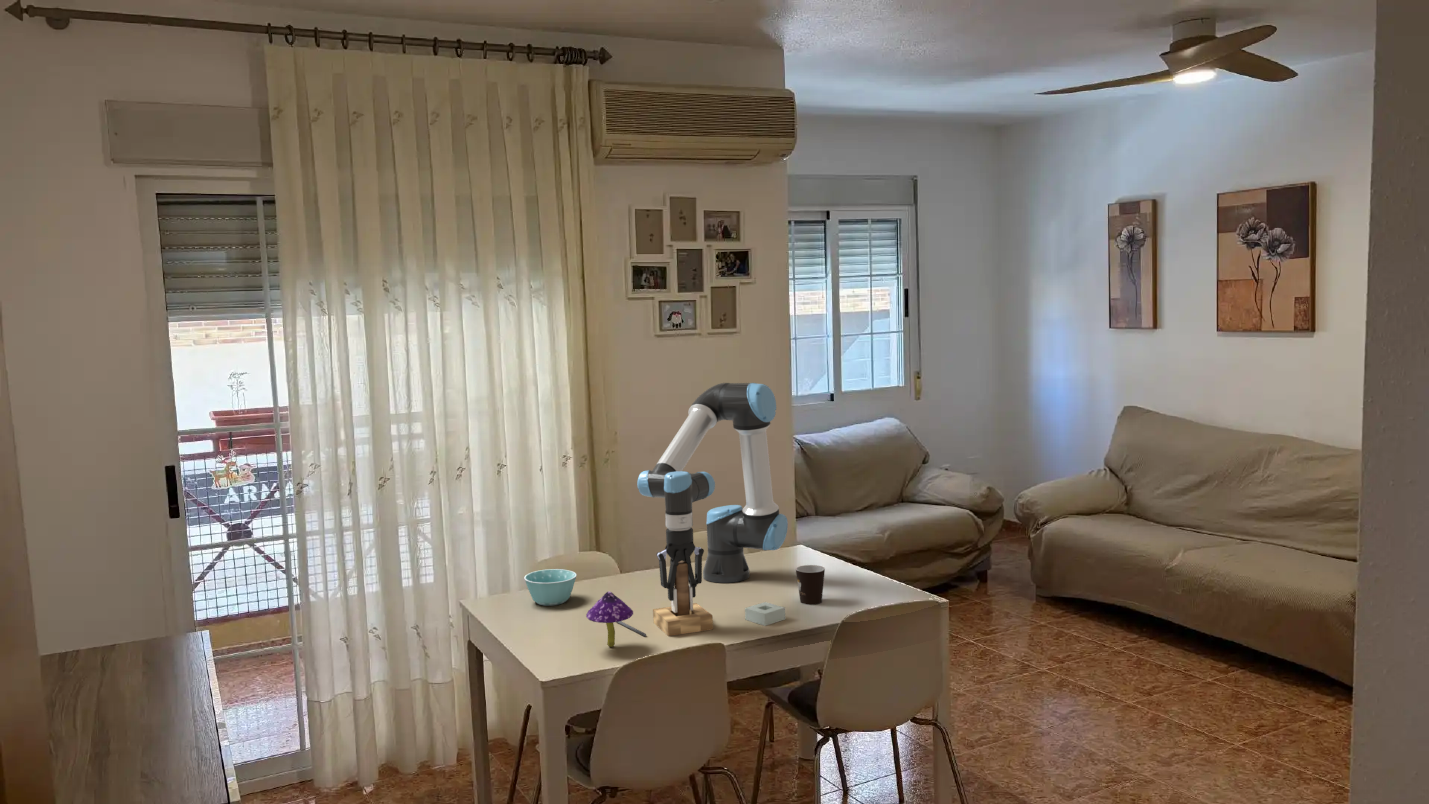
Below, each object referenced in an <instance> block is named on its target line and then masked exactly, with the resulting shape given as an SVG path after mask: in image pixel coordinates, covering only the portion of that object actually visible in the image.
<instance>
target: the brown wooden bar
mask: <svg viewBox="0 0 1429 804" xmlns="http://www.w3.org/2000/svg"><path fill="white" fill-rule="evenodd" d="M689 585H690V584H689V579H688V564H687V563H685V562H684V561H680V562H678V566H677V571H676V577H675V584H674V588H675V589H677V613H675V616H682V615H689V614H690V607H689Z"/></svg>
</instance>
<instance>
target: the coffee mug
mask: <svg viewBox="0 0 1429 804" xmlns="http://www.w3.org/2000/svg"><path fill="white" fill-rule="evenodd" d="M825 570H826V568H825V567H824V566H823V565H822V566H821V565H817V564H805V565H798V566H796V567H795V574H796V581H797V588H798V594H799V602H800V603H801V604H802V605H811V606H814V605H819V604H822V602H823V593H824V592H823V591H824V580H825Z"/></svg>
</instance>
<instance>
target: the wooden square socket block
mask: <svg viewBox="0 0 1429 804" xmlns="http://www.w3.org/2000/svg"><path fill="white" fill-rule="evenodd" d="M652 616H653V617H652V618H653V624H654V625H655V626H656V627H658V628H659V629H660V630H661V631H662V632H663V633H664V634H665V635H667V636H668V637H672V636H678V635H684V634H691V633H697V632H698V633H699V632H704V631H710V630H713V629H714V623H713V622H714V621H713V620H714V619H713V614H711V613H710V612H709V611H707V610H706V609H705V608H704V607H703V606H701V605H699V604H698V603H697V602H693V610H690V614H689V615H682V616H675V612H673V611H672V606H667V607H659V608H653V609H652Z"/></svg>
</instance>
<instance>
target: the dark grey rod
mask: <svg viewBox="0 0 1429 804" xmlns="http://www.w3.org/2000/svg"><path fill="white" fill-rule="evenodd" d="M616 623H618V624H619V625H621V626H623V627H625V628H627V629H629V630H631V631H633V632H635V633H636V634H638V635H641V636H643V637H647V634H646V633H645V632H643V631H641V630H639V629H637V628H635V627H633V626H631V625H630V624H627V623H625V622H623V621H619V622H616Z"/></svg>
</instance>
